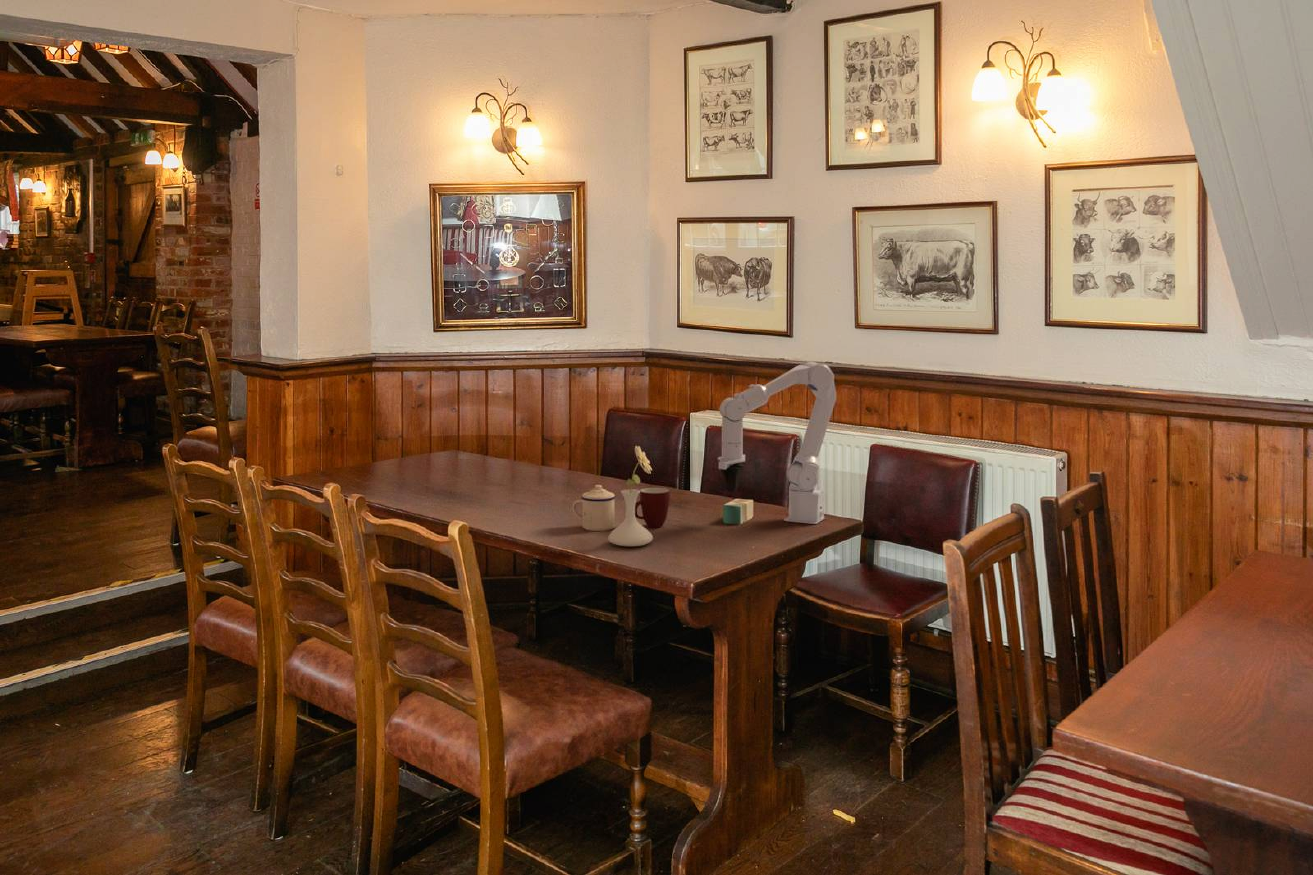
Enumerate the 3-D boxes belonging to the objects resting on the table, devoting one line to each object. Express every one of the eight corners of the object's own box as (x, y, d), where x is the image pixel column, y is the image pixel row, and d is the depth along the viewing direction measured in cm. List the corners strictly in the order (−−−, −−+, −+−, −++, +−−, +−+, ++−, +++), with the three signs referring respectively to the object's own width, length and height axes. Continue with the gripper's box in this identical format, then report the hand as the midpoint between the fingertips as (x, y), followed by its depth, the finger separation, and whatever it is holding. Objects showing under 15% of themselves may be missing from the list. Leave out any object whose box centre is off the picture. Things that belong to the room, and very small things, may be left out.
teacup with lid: (619, 525, 299) (619, 483, 297) (608, 532, 290) (608, 489, 289) (579, 522, 303) (578, 481, 301) (566, 529, 294) (566, 487, 292)
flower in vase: (637, 552, 270) (636, 452, 266) (599, 546, 276) (598, 448, 272) (664, 541, 281) (664, 445, 277) (627, 536, 286) (627, 441, 283)
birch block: (739, 524, 300) (753, 517, 309) (740, 506, 299) (753, 500, 308) (723, 522, 302) (736, 515, 311) (723, 505, 301) (736, 498, 310)
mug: (643, 532, 290) (643, 495, 289) (626, 526, 297) (626, 490, 295) (675, 527, 296) (675, 491, 295) (658, 521, 303) (658, 486, 302)
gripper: (728, 437, 306) (728, 485, 308) (708, 445, 293) (708, 494, 295) (752, 439, 303) (751, 487, 305) (732, 446, 290) (732, 496, 292)
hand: (731, 491), depth 300 cm, fingers closed
